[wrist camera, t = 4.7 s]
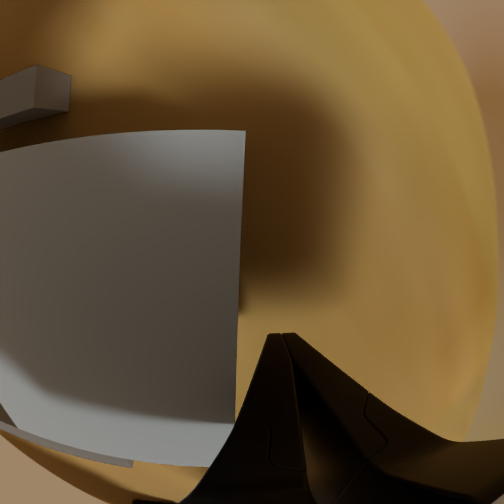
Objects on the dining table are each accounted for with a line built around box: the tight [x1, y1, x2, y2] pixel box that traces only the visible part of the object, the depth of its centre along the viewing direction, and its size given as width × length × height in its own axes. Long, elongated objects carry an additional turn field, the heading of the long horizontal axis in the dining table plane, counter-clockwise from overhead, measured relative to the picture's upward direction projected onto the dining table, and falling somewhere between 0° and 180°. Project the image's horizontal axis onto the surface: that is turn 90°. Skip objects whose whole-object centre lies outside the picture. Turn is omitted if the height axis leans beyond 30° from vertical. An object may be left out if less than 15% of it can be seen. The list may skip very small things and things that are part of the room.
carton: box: [0, 130, 246, 467], centre depth 8 cm, size 10×9×4 cm
